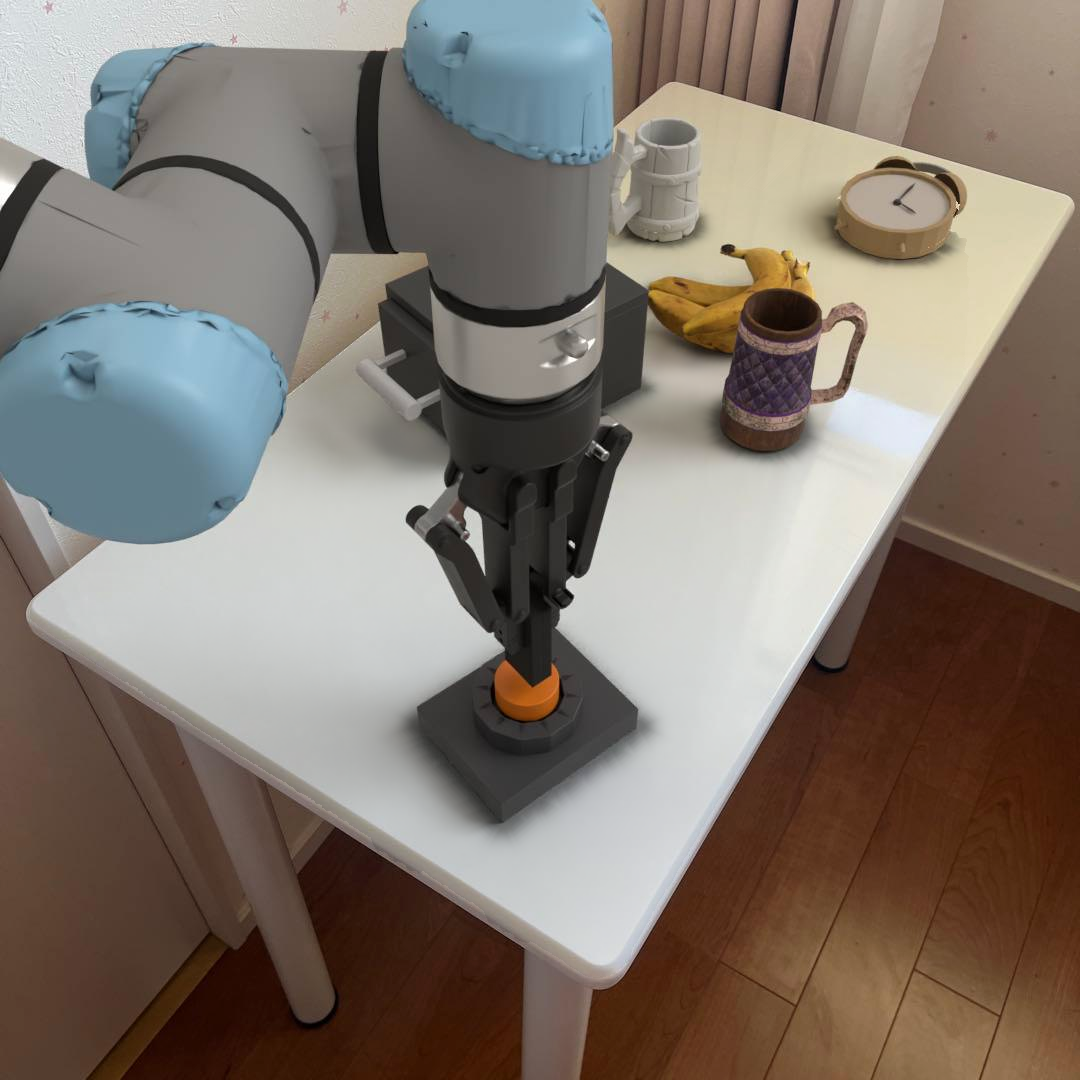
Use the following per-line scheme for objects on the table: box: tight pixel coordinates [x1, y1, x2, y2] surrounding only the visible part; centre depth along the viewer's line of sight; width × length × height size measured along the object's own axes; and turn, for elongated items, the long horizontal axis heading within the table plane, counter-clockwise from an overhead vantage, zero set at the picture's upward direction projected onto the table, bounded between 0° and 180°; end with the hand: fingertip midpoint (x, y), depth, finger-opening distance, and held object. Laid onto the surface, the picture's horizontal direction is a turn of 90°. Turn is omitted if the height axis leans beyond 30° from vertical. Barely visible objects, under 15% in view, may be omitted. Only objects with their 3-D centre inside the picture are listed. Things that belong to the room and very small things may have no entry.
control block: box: [416, 627, 639, 824], centre depth 71 cm, size 11×9×4 cm
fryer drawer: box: [355, 298, 445, 433], centre depth 90 cm, size 19×13×8 cm
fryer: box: [384, 261, 650, 410], centre depth 92 cm, size 16×14×10 cm
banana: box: [648, 243, 816, 354], centre depth 101 cm, size 15×19×6 cm
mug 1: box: [608, 116, 703, 243], centre depth 108 cm, size 8×12×12 cm, turn 128°
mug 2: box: [719, 288, 869, 452], centre depth 88 cm, size 10×7×12 cm
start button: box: [494, 660, 559, 721], centre depth 69 cm, size 4×4×2 cm
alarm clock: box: [833, 155, 968, 260], centre depth 112 cm, size 11×5×15 cm
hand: (528, 667), depth 67 cm, fingers closed
